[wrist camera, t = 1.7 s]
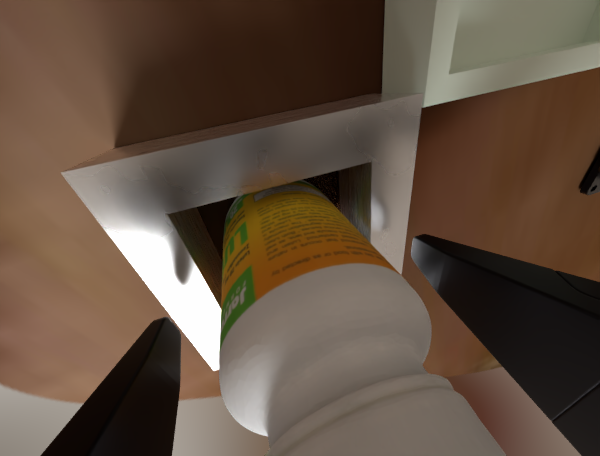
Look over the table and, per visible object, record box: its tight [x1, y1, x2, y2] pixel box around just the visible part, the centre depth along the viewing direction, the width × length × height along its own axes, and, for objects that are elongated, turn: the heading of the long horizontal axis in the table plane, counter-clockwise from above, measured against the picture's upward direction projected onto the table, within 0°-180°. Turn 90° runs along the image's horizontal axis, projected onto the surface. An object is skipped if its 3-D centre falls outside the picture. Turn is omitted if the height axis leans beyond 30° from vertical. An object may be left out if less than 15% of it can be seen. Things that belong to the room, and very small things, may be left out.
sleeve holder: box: [61, 93, 423, 371], centre depth 10 cm, size 10×10×3 cm
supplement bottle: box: [219, 180, 507, 456], centre depth 7 cm, size 5×5×10 cm
